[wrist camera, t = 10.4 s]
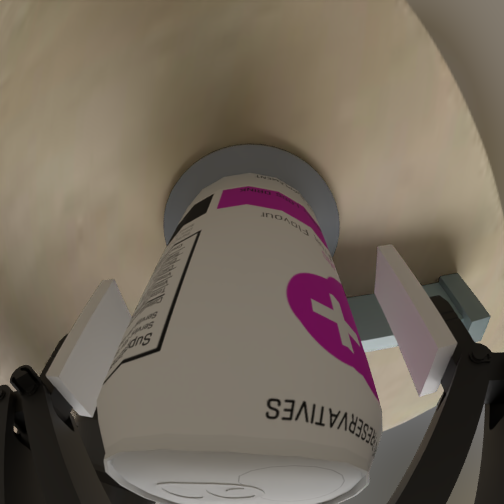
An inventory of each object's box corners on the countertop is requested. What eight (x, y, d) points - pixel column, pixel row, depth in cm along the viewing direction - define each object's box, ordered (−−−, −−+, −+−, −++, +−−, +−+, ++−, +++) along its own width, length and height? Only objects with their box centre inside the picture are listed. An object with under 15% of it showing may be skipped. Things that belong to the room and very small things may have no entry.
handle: (218, 330, 24) (210, 385, 19) (211, 307, 23) (200, 363, 18) (451, 296, 22) (480, 340, 17) (457, 273, 21) (490, 316, 16)
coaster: (189, 305, 23) (188, 311, 22) (147, 162, 18) (143, 164, 17) (338, 289, 22) (340, 294, 21) (331, 133, 17) (334, 135, 16)
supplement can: (294, 151, 17) (402, 390, 4) (328, 270, 20) (388, 499, 7) (162, 196, 18) (20, 422, 5) (215, 301, 22) (181, 518, 9)
